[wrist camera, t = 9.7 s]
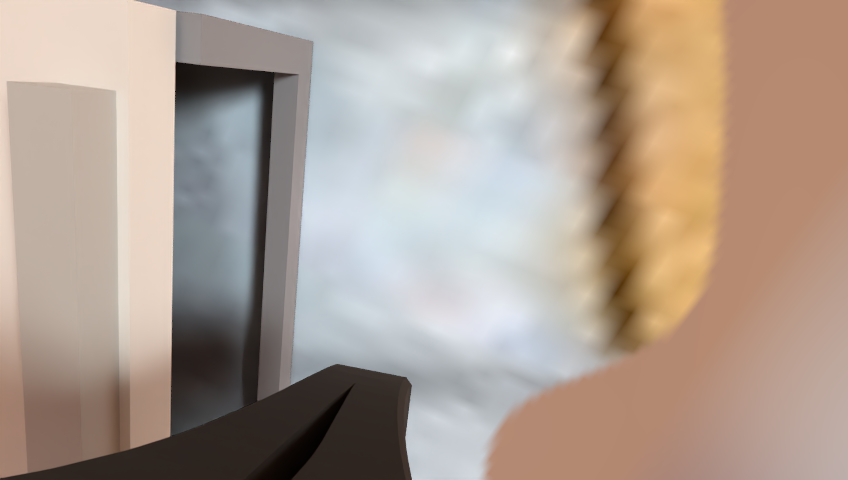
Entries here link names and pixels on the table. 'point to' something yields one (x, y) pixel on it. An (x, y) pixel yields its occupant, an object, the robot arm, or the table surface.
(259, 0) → the table surface
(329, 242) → the table surface
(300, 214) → the box
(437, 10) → the table surface
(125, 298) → the lid
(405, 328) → the table surface
